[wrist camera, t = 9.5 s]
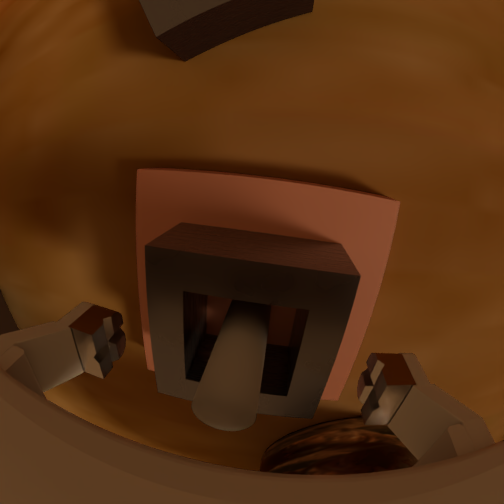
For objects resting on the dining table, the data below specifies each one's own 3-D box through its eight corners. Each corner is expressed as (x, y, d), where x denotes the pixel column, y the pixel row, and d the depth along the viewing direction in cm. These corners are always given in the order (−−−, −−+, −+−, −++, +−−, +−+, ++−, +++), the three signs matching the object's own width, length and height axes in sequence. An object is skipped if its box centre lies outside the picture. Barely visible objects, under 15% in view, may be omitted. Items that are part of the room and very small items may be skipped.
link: (181, 222, 10) (144, 245, 8) (341, 243, 10) (361, 276, 7) (181, 348, 12) (158, 392, 9) (309, 369, 12) (312, 418, 9)
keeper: (153, 167, 11) (29, 187, 5) (386, 196, 11) (493, 245, 4) (158, 352, 15) (100, 445, 8) (334, 381, 14) (348, 491, 7)
